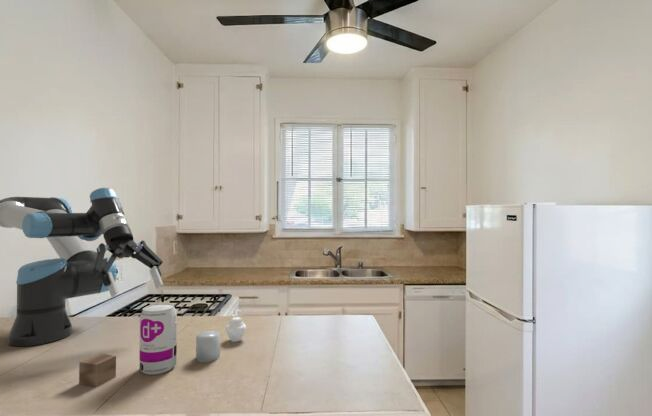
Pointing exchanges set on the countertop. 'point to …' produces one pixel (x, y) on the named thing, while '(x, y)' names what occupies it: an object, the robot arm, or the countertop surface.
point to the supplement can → (158, 339)
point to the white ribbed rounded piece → (236, 329)
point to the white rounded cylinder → (207, 346)
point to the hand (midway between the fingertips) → (138, 290)
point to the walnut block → (97, 370)
